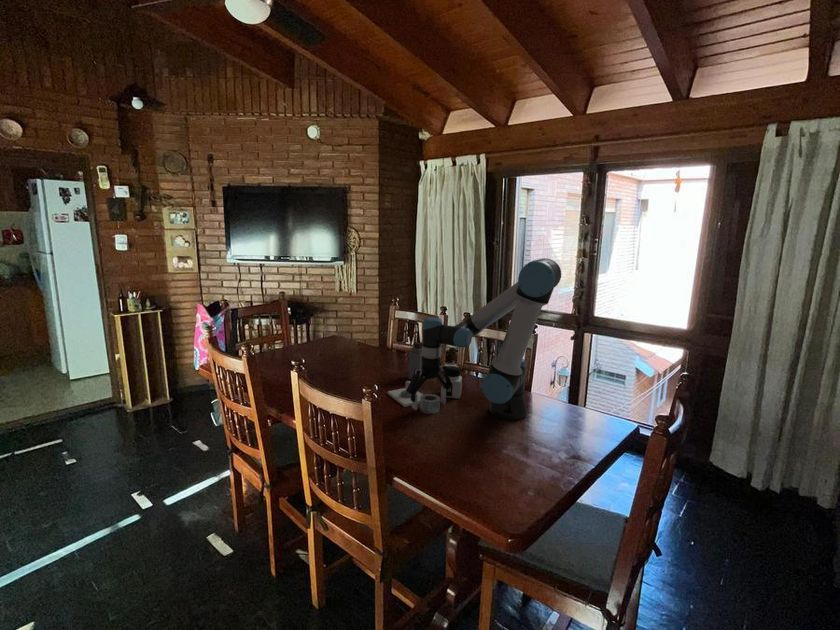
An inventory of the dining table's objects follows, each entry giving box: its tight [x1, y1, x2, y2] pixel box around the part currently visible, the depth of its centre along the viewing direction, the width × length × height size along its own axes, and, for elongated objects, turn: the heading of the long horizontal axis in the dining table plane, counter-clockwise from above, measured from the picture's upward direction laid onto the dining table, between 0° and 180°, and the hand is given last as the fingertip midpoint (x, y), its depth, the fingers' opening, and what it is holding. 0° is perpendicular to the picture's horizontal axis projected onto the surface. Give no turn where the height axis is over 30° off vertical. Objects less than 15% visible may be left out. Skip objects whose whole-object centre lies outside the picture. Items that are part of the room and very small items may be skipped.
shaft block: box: [387, 380, 424, 408], centre depth 191 cm, size 16×12×7 cm
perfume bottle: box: [408, 341, 424, 380], centre depth 214 cm, size 7×7×18 cm
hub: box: [419, 393, 441, 415], centre depth 180 cm, size 8×8×5 cm
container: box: [442, 365, 463, 399], centre depth 195 cm, size 8×8×13 cm
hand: (429, 405), depth 180 cm, fingers open, 13 cm apart
